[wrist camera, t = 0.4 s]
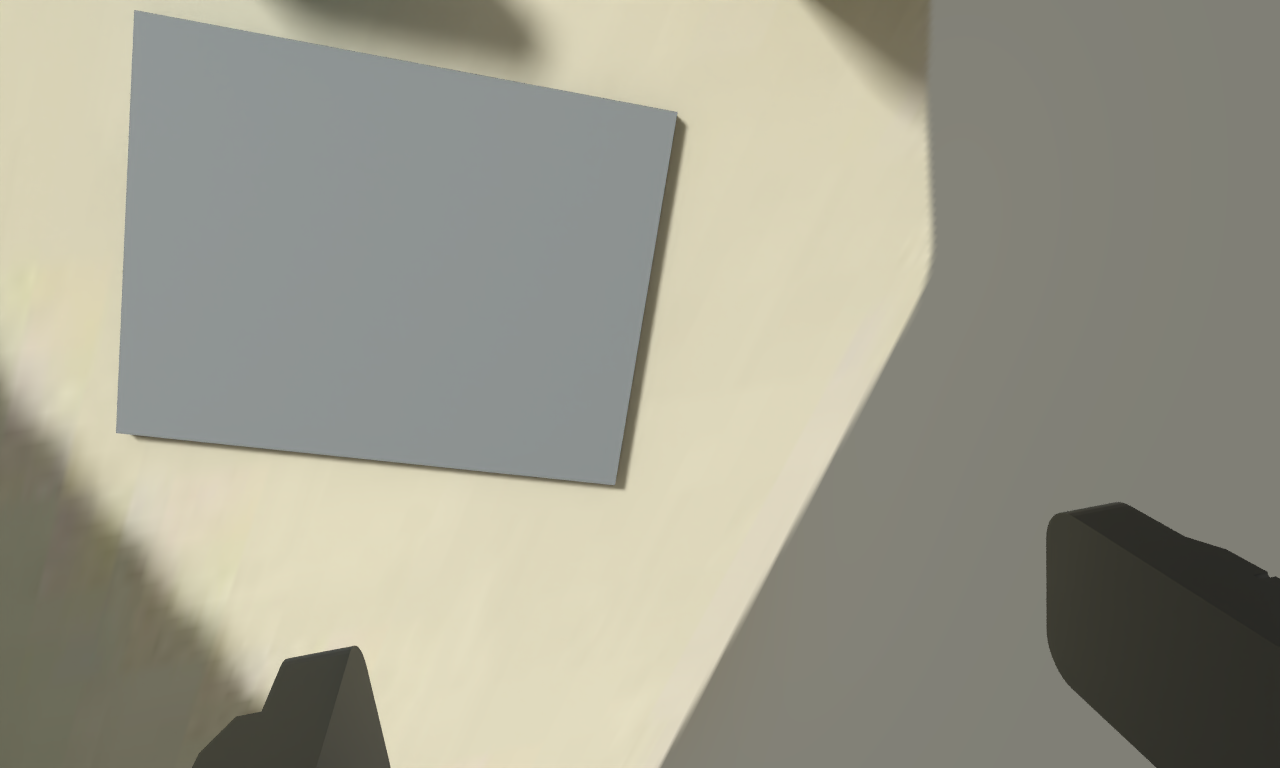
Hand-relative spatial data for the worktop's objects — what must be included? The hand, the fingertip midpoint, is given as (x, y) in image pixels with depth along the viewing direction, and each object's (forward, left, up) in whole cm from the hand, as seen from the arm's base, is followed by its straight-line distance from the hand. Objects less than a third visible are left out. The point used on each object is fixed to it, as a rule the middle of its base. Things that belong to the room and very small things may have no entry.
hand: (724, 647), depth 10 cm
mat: (0, -6, -26) cm, 27 cm away
